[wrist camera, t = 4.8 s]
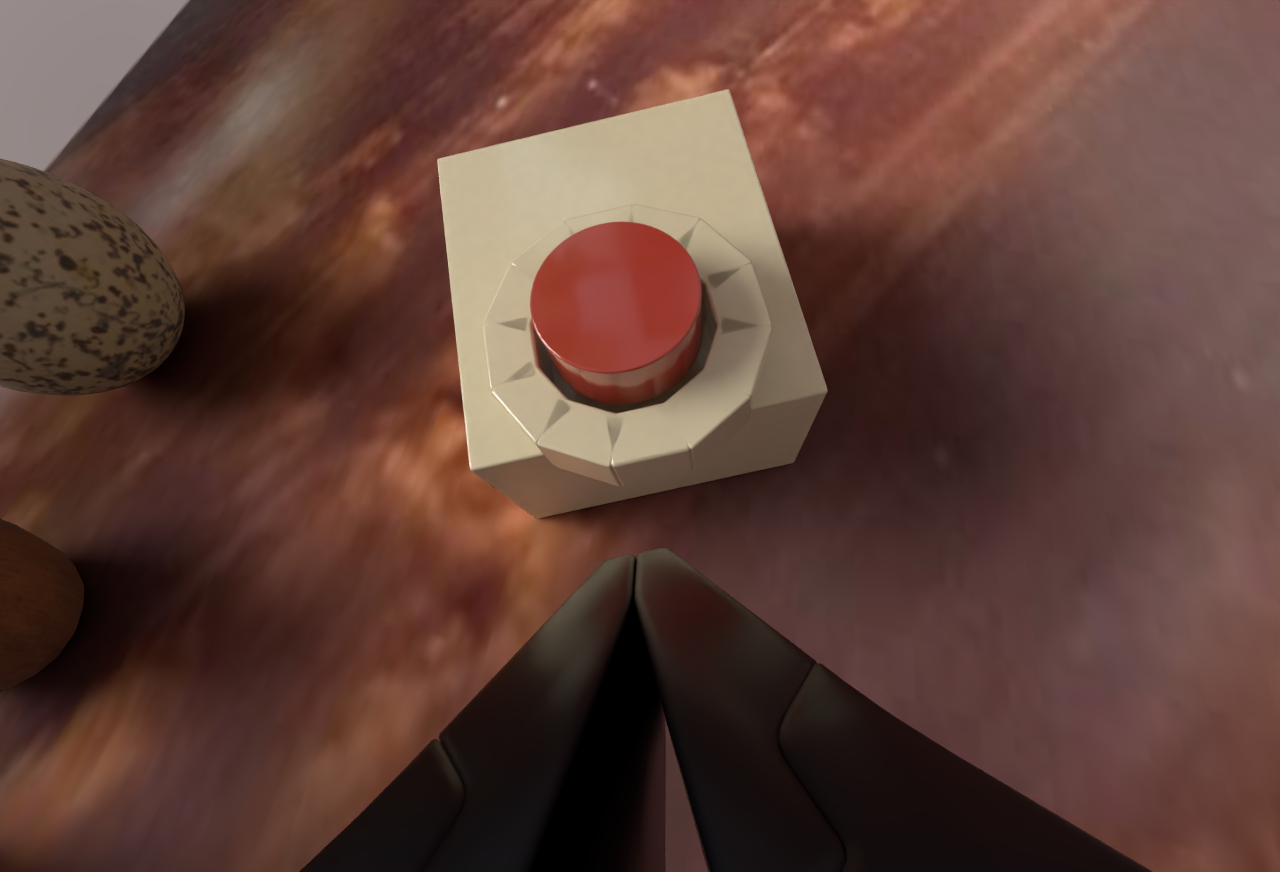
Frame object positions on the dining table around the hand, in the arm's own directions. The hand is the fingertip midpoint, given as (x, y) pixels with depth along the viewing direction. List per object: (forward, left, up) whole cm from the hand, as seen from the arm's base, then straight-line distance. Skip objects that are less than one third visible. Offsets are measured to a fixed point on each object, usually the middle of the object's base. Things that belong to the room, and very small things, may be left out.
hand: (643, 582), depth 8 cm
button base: (+7, -6, -12) cm, 15 cm away
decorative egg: (+23, +6, -13) cm, 27 cm away
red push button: (+5, -4, -5) cm, 8 cm away
